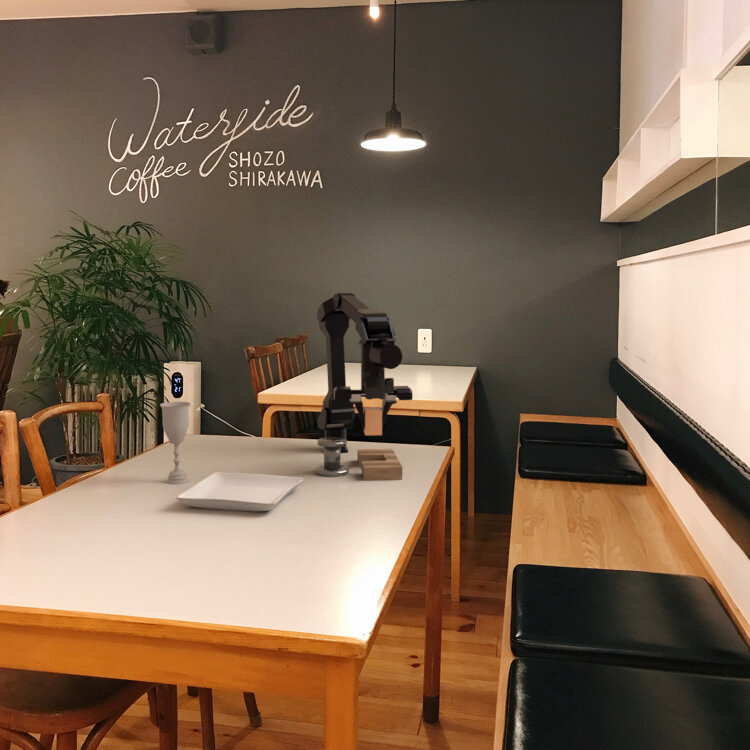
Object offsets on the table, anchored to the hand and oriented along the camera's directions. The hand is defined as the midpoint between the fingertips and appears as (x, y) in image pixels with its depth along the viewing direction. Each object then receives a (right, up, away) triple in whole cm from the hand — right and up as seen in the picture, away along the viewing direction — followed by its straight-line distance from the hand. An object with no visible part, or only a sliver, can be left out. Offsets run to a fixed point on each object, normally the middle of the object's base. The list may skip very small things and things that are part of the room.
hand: (372, 428), depth 199 cm
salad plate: (-27, -14, -25) cm, 40 cm away
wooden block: (0, -1, 0) cm, 1 cm away
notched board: (+2, -10, +1) cm, 10 cm away
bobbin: (-10, -11, -2) cm, 15 cm away
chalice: (-45, -12, -10) cm, 48 cm away
